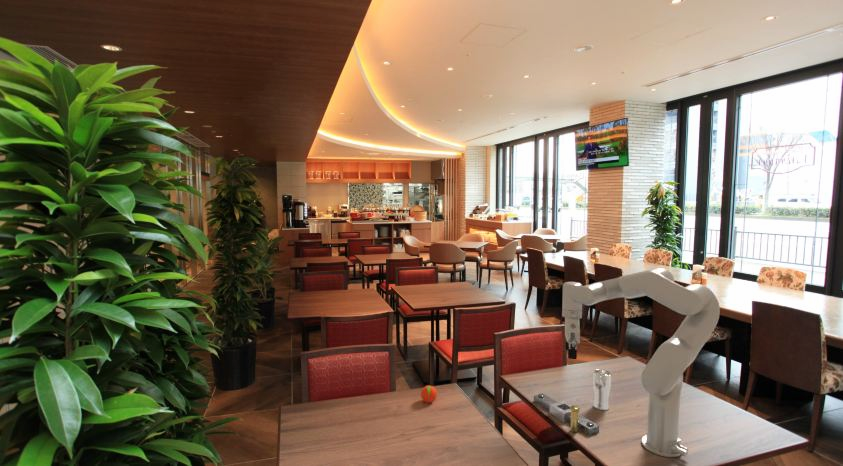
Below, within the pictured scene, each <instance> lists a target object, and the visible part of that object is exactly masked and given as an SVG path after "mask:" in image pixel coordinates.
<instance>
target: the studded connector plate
mask: <svg viewBox="0 0 843 466" xmlns="http://www.w3.org/2000/svg"><path fill="white" fill-rule="evenodd" d="M533 402H535V403H536V404H538V405H539V406H541V407H542V408H544V409H546V410H547V411H549V414H550V415H552V416H553V417H555V418H556V419H557V420H559V421H561V422H563V423H566V422H567V423H568V424H571V409H570V406H574V405H573V404H571V403H570V402H568V401H566V400H562V401H557V400H555V399H553V398H552V397H550V396H549V395H547V394H545V393H539V394H536V395H533ZM578 430H580V431H582V433H585V434H586V433H587V434H586V435H589V436H591V435H595V434H597V433H600V425H598V424H597V423H595V422H593V421H592V420H590V419H588V418H586V417H585V416H583V415H581V414H580V413H579V421H578Z"/></svg>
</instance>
